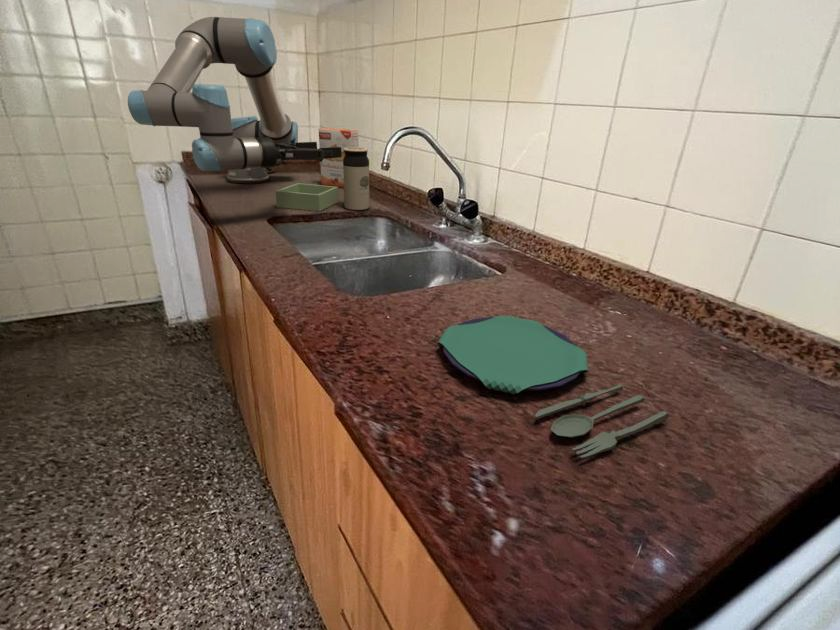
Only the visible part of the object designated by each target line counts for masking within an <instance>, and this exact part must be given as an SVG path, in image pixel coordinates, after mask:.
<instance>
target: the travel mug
mask: <svg viewBox="0 0 840 630" xmlns="http://www.w3.org/2000/svg"><path fill="white" fill-rule="evenodd" d="M344 151H345V157H344V159H343V174H344V188H343V201H344V204H343V205H344V208H345V209H346V210H349V211H365V210H367V209H369V208H370V159H369V158H368V152H369V149H368V148H366V147H359V148H357V147H349V148H344Z"/></svg>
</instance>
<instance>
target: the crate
mask: <svg viewBox="0 0 840 630" xmlns="http://www.w3.org/2000/svg"><path fill="white" fill-rule="evenodd" d="M274 191H275V201H276V208H283V209H291V210H292V209H293V210H301V211H302V210H303V211H311V212H321V211H323V210H325V209H327V208H329V207H331V206H333V205H335V204H337V203H339V202H340V201H339V187H333V186H326V185H322V184H311V183H299V182H297V183H295V184H292V185H288V186H285V187H283V188H280V189H277V190H274Z"/></svg>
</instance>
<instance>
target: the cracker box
mask: <svg viewBox="0 0 840 630" xmlns="http://www.w3.org/2000/svg"><path fill="white" fill-rule="evenodd" d="M318 147H319V148H329V147H341V152H342V157H341V158H325V159H324V160H322V162H320V161H319V162H320V163H319V164H320V182H321V183H320V185H323V186H333V187H338V188H341V189H344V174H343V159H344V157H345V151H344V148H349V147H357V148H360V147H359V130H357V129H346V128H338V127H336V128H335V127H320V128H318Z"/></svg>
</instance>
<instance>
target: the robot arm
mask: <svg viewBox="0 0 840 630" xmlns="http://www.w3.org/2000/svg"><path fill="white" fill-rule="evenodd" d="M277 56H278V54H277V46H276V40H275V37H274V34H273V32H272V29H271V28H270V26H269V24H268V23H267V22H266V21H264V20H262V19H255V18H252V17H249V18H240V17H238V18H237V17H224V16H222V17H219V16H207V17H202V18H200V19H197V20H196V21H194V22H192V23H190V24H189V25H187V26H186V27H184V28H183V30H182V31H181V32H180V33H179V34H178V35H177V37H176V38H175V42H174V50H173V51H172V53H171V54H170V55H169V57H168V59H167V60H166V61H165V63H164V65H163V66H162V68H161V69H160V70H159V72H158V74H157V75H156V76H155V78H154V80H153V81H152V82H151V84H150V85H149V87H148V89H147V90H143V89H139V90H132V91H130V92H129V93H128V96H127V107H128V110H129V113H130V116H131V118H132V119H133V120H134V121H135V122H136V123H137V124H139V125H144V126H152V127H184V128H198V131H199V137H200V138H198V139H193V140H192V143H191V154H192V158H193V161H194V163H195V166H196V167H197V168H198V169H199V170H201V171H202V172H224V171H227V174H226V177H227V182H229V183H233V184H261V183H265V182H268V181H269V174H272V173H274V172H275V169H274V167H275V166H277V165H279V164H281V163H284V164H285V165H286V164H287V161H295V160H297V161H300V160H301V161H303V160H304V161H319V162H322V160H324V159H325V158H341V157H342V152H341V147H329V148H320V147H319V148H318V142H317V141H303V142H302V141H301V142H300V141H299V126H298V123H297V122H296V121H292V120H291V118H290V117H289V116H288V115H287V114H286V113H285V111H284V108H283V105H282V101H281V98H280V95H279V91H278V89H277V88H278V87H277V84H276V82H275V78H274V74H273V72H272V70H273V68H274V66H275V65H276V63H277V58H278V57H277ZM211 64H226V65H234V67H235V69H236V71H237V72H238V73H239V74H240V75H241V76H242V77H244V79H245V82H246V84H247V87H248V90H249V92H250V95H251V97H252V100H253V102H254V105H255V108H256V110H257V111H256V112H257V113H258V116H259V118H260V119H258V117H257V116H256V115H254V116H245V117H234V118H232V116H231V106H230V102H229V97H228V91H227V89H226V87H225V86H223V85H220V84H199V83H197V84H196V82H197V80H198V78H199V77H200V75H201V73H202V71H203V70H204V69H207V68H209V66H211ZM284 161H285V162H284ZM266 168H267V169H269V170H268V171H267V169H266Z"/></svg>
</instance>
